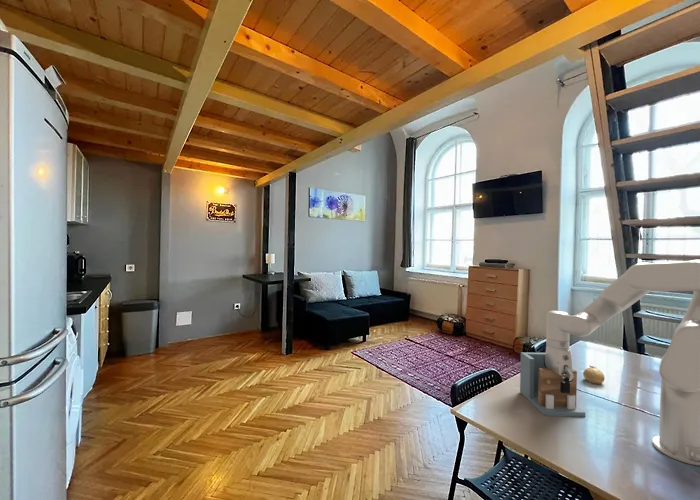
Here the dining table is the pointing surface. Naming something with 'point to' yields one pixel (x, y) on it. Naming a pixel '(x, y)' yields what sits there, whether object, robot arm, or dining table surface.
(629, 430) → the dining table surface
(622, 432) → the dining table surface
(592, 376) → the onion
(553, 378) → the door
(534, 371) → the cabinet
